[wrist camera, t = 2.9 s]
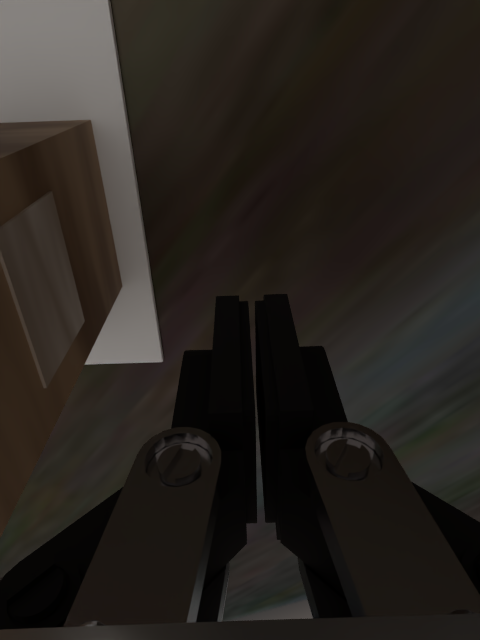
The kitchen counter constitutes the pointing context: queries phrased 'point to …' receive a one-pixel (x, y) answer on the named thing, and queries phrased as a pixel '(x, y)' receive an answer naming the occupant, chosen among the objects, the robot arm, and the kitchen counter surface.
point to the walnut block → (47, 283)
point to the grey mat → (109, 133)
